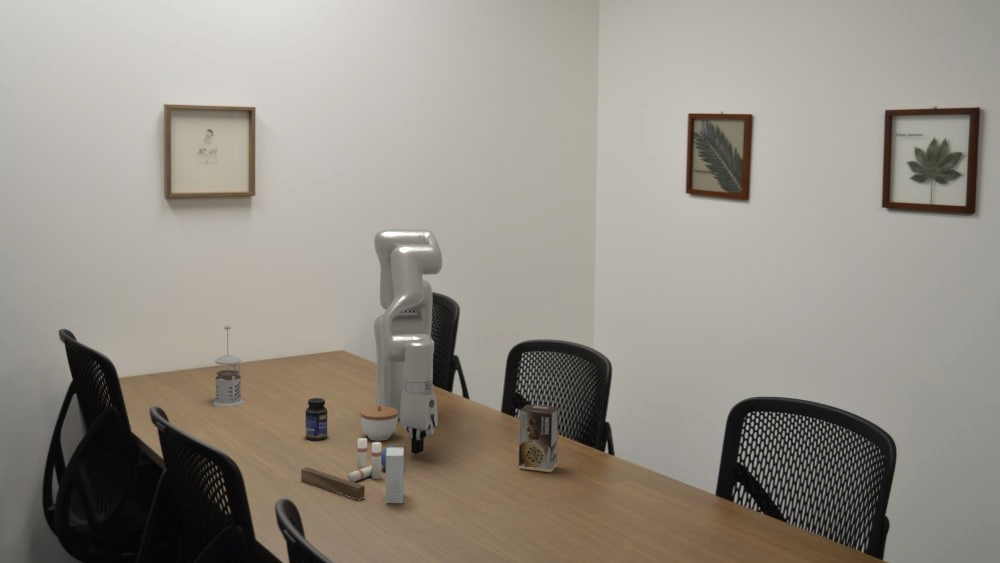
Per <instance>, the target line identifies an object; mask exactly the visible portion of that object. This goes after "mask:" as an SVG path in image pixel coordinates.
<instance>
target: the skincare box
mask: <svg viewBox="0 0 1000 563" xmlns="http://www.w3.org/2000/svg"><path fill="white" fill-rule="evenodd" d="M386 448H387V447H386ZM404 462H405V449H404V447H397V448H387V449H386V468H385V504H386V503H403V504H404V498H405V497H404V495H405V494H404V492H405V491H404V488H405V485H404V484H405V483H404V481H405V480H404V479H405V478H404V476H405V470H404V468H405V467H404V466H405V463H404Z"/></svg>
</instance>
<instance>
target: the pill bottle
mask: <svg viewBox="0 0 1000 563" xmlns="http://www.w3.org/2000/svg"><path fill="white" fill-rule="evenodd" d="M325 401H326V399H324V398H321V397H313V398H310V399H309V398H308V400H307V405H308V407H307V408H305V438H306V439H307V440H310V441H317V440H318V441H323V440H325V439H326V438H328V409H327V408H326V407H325V405H326V402H325Z"/></svg>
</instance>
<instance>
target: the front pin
mask: <svg viewBox="0 0 1000 563" xmlns="http://www.w3.org/2000/svg"><path fill="white" fill-rule="evenodd" d="M368 477H372V464H371V465H369V466H368V465H367V467H365V468H362V469H359V470H355V471H352V472H349V473H348V481H351V482H354V483H356V482H357V481H361V480H363V479H366V478H368Z"/></svg>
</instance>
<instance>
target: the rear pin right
mask: <svg viewBox="0 0 1000 563" xmlns="http://www.w3.org/2000/svg"><path fill="white" fill-rule="evenodd" d="M356 452H357V462H356V463H357V464H356V465H357V467H356V468H357V470H359V469H362V468H365V467H368V439H367V438H366V437H359V438H357V451H356Z"/></svg>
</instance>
